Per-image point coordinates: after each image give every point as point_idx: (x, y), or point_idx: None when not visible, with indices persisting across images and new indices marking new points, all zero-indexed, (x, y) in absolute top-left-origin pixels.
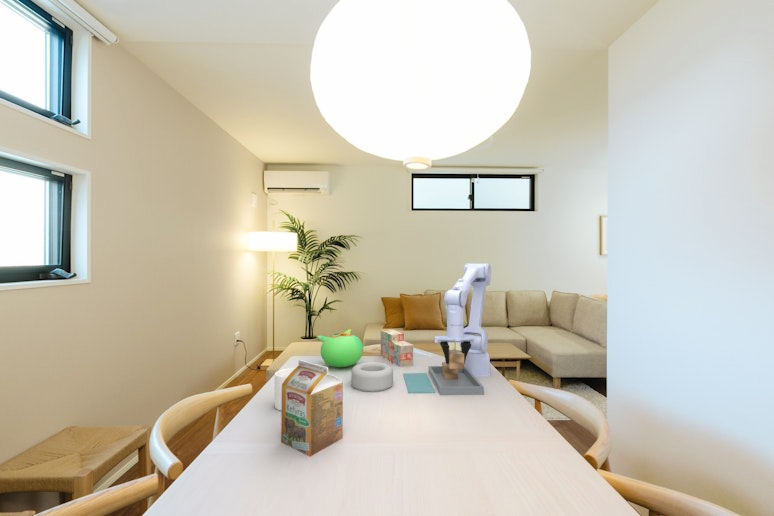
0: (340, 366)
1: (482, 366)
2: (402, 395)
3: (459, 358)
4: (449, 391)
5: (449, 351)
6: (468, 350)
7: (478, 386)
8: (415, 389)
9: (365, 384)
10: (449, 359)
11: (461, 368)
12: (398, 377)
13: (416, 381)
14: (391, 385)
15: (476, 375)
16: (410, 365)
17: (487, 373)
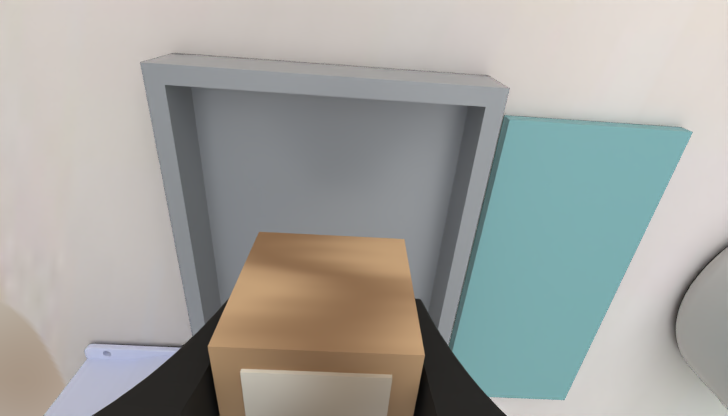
0: None
1: (100, 403)
2: (723, 121)
3: (289, 306)
4: (427, 76)
5: None
6: (112, 404)
7: (184, 77)
8: (619, 177)
9: None
10: (413, 311)
11: (285, 235)
12: (596, 369)
13: (548, 296)
14: (723, 255)
15: (165, 354)
16: None
17: (94, 364)
